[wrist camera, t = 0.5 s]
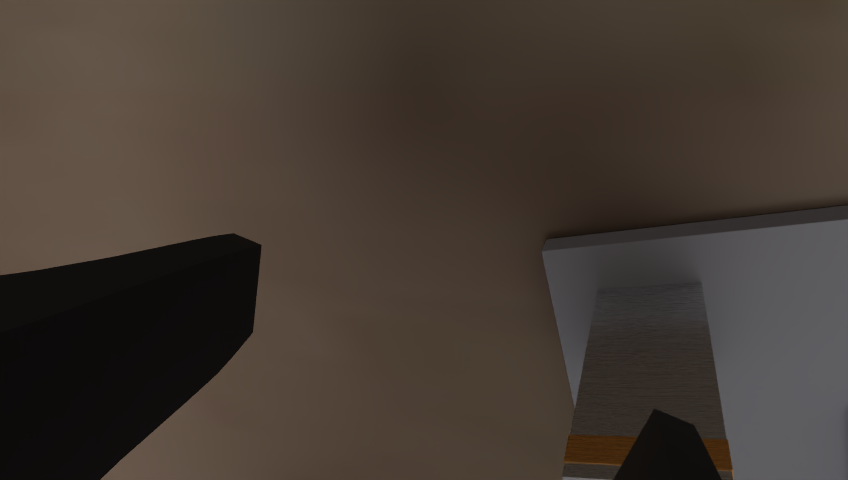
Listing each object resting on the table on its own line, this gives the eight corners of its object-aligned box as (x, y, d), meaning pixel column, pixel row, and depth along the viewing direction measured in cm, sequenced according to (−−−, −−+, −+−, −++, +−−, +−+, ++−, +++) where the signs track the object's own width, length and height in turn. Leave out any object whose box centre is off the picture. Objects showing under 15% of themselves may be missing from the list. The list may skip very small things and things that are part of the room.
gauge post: (712, 367, 18) (749, 610, 11) (611, 369, 19) (586, 588, 12) (702, 280, 17) (735, 486, 10) (596, 288, 18) (561, 475, 11)
